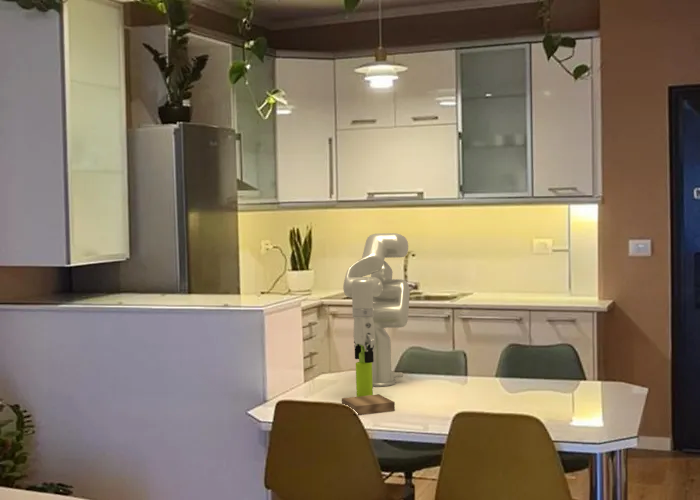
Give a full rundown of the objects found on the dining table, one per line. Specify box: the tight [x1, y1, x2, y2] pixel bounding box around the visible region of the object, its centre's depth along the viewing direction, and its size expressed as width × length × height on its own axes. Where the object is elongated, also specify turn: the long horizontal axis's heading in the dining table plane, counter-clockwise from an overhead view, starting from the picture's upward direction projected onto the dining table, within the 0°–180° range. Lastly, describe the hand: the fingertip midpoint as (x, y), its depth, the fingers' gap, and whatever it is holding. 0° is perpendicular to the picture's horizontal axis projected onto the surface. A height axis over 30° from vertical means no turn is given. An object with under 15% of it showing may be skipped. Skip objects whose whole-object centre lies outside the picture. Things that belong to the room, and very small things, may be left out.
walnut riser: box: [341, 394, 396, 416], centre depth 309 cm, size 14×14×3 cm
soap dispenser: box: [355, 345, 374, 397], centre depth 324 cm, size 6×7×20 cm
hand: (364, 360), depth 323 cm, fingers open, 9 cm apart
